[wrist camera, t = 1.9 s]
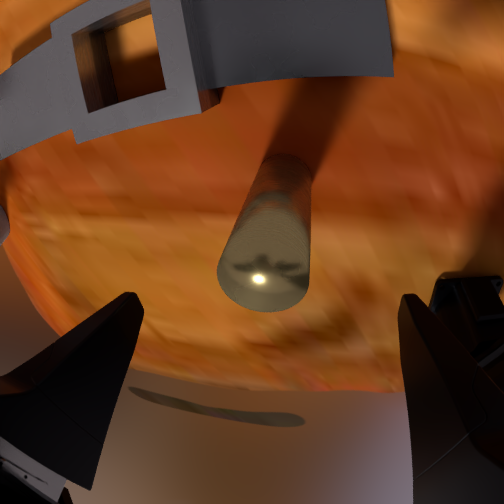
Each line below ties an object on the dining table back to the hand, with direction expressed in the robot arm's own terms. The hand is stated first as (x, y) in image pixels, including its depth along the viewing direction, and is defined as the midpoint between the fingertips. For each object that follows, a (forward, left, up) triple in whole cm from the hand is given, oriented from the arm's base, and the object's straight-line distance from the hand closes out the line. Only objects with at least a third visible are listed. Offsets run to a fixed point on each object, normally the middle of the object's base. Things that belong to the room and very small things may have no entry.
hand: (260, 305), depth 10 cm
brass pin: (0, 0, -10) cm, 10 cm away
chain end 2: (+9, +3, -10) cm, 14 cm away
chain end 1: (+9, +12, -10) cm, 18 cm away
